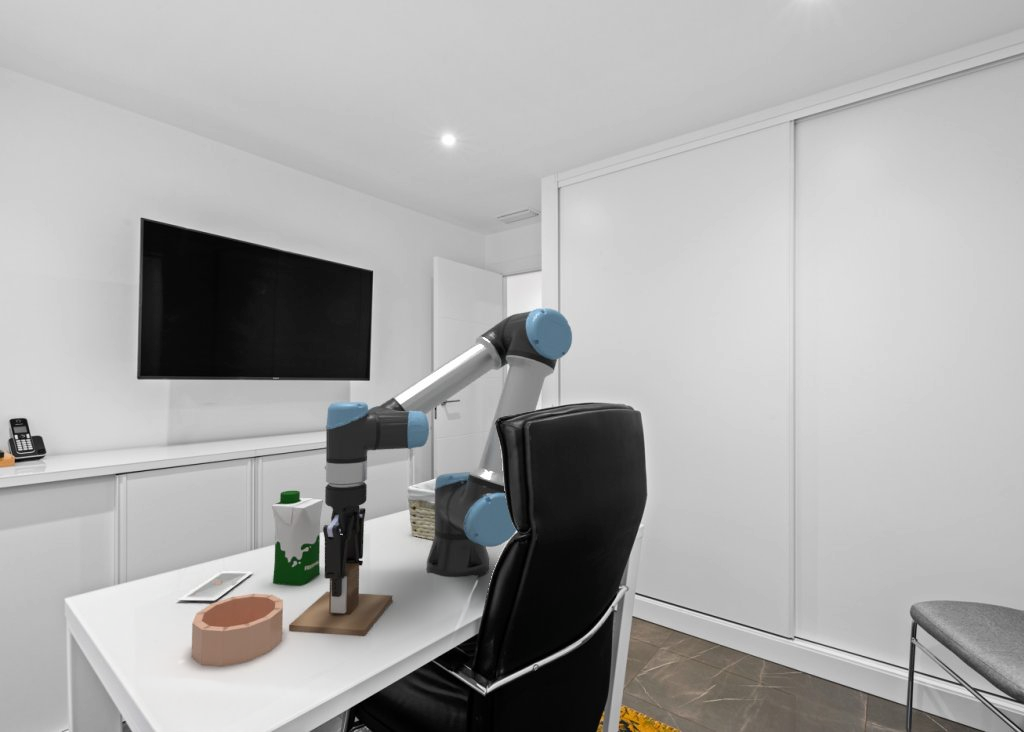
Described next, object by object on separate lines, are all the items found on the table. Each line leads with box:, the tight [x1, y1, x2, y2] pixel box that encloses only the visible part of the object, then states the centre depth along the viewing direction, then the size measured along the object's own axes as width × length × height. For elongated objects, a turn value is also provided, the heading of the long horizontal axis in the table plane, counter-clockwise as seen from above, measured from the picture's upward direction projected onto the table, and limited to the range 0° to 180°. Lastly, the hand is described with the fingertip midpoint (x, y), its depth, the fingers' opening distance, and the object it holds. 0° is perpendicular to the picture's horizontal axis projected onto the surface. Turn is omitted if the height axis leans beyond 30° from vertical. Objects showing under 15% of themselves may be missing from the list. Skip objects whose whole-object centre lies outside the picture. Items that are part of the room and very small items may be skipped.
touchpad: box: [176, 570, 254, 602], centre depth 109 cm, size 8×15×2 cm, turn 179°
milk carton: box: [271, 490, 324, 587], centre depth 112 cm, size 9×9×20 cm
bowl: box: [191, 593, 284, 667], centre depth 85 cm, size 13×13×6 cm
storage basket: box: [406, 477, 437, 541], centre depth 152 cm, size 24×16×15 cm
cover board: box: [288, 563, 393, 637], centre depth 95 cm, size 14×14×9 cm
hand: (344, 605), depth 95 cm, fingers closed on cover board, 4 cm apart
